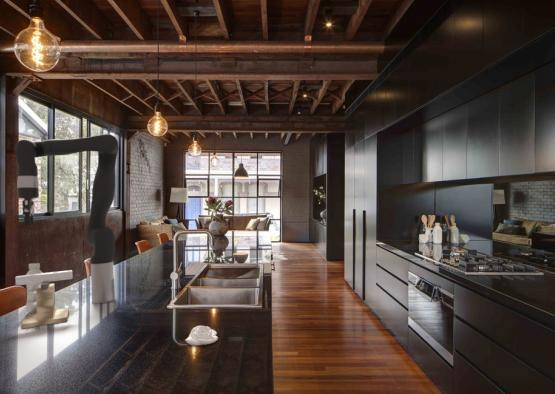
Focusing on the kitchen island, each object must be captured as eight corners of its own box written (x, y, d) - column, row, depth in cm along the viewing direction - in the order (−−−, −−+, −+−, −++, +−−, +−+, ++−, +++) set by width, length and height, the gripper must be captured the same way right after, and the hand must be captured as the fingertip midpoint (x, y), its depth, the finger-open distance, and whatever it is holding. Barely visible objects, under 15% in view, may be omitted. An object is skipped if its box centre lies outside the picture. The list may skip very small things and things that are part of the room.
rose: (201, 319, 118) (224, 323, 113) (202, 332, 118) (225, 337, 113) (178, 328, 109) (201, 334, 104) (178, 343, 109) (201, 349, 104)
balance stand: (68, 311, 148) (67, 276, 148) (67, 321, 135) (65, 282, 135) (27, 318, 141) (26, 280, 141) (21, 328, 129) (20, 287, 129)
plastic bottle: (36, 315, 145) (34, 265, 145) (21, 315, 146) (20, 265, 146) (49, 310, 151) (47, 262, 151) (35, 310, 152) (33, 262, 152)
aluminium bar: (72, 277, 144) (72, 270, 144) (72, 278, 141) (71, 271, 141) (17, 284, 136) (16, 276, 136) (15, 285, 133) (15, 277, 133)
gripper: (36, 186, 151) (37, 225, 151) (40, 187, 164) (41, 224, 163) (14, 186, 148) (15, 226, 147) (20, 188, 160) (20, 224, 160)
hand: (28, 224), depth 155 cm, fingers open, 8 cm apart
